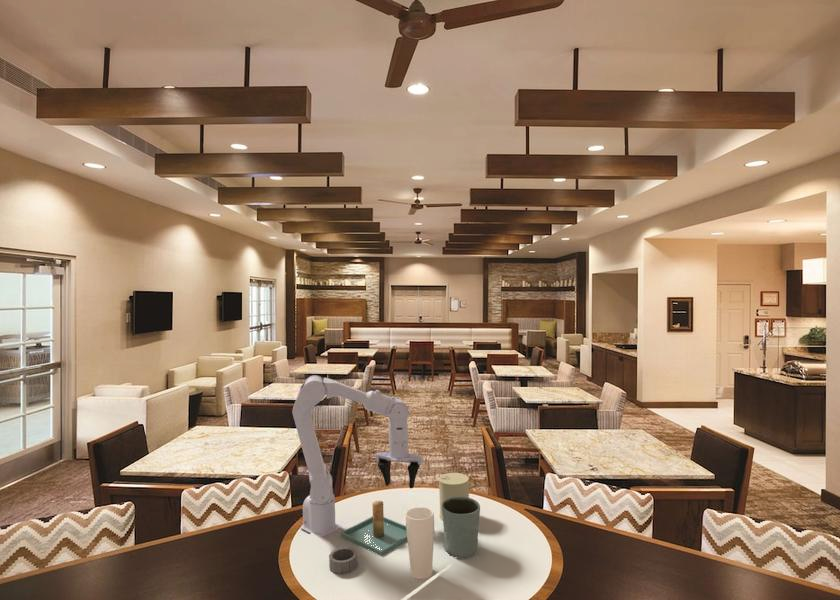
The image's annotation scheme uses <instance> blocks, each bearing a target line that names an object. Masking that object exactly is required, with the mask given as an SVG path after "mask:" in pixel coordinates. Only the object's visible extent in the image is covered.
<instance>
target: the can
mask: <svg viewBox="0 0 840 600" xmlns="http://www.w3.org/2000/svg"><path fill="white" fill-rule="evenodd" d="M469 481H470V477H469V476H468V475H466V474H465V473H459V472H446V473H443V474H441V475H439V477H438V489H439V492H438V493H439V515H438V516H439V518H440V520H441V521H443V516H442V503H443V502H444V501H445V500H447V499H449V498H452V497H467V498H470V485H469V484H470V482H469Z"/></svg>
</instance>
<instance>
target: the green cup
mask: <svg viewBox="0 0 840 600" xmlns="http://www.w3.org/2000/svg"><path fill="white" fill-rule="evenodd" d="M480 515H481V505H480V503H479V502H478V501H477V500H476V499H473V498H471V497H469V498H467V497H452V498H449V499H447V500H445V501H444V502H443V503H442V516H443V520H442V525H443V526H442V527H443V535H444V536H443V537H444V538H443V539H444V541H443V542H444V551H445V553H446V552H447V553H448V554H449V555H448V554H447V553H446V554H447V555H448V556H449V557H451V556H453V557H452V558H454V557H457V558H456V559H468V557H469V558H472V557H474V556H475V555H476V554H477V553H478V548H479V547H478V546H479V545H478V544H479V538H478V537H479V526H480V518H481V517H480Z"/></svg>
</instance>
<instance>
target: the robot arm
mask: <svg viewBox="0 0 840 600" xmlns="http://www.w3.org/2000/svg"><path fill="white" fill-rule="evenodd" d="M325 397H326V399H328V400H329V399H331V398H334V397H340V398H343V399H346V400H350V401H353V402H355V403H360V404H362V406H363V408H364V409H365V410H366V411H370V412H373V413H375V414H378V415H381V416H385V417H386V416H388V446H389V447H388V451H384V452H383V451H378V452H376V453H375V454H374V455H375V461H377V468H379V471H380V472H381V474H382V477H383V480H384V483H385V486H386V487H387V486H390V484H391V481H392V479H391V465H392V463H410V464H408V465H407V471H408V477H409V483H408V484H409V486H408V487H409V489H413V488H414V487H415V482H416V477H417V473H418V471H419V469H420V467H421V465H422V464H423V463H424V456H423V455H418V454H414V453H410V452H409V424H408V417H409V415H410V411H409V407H408V406H407V404H406V402H404V400H403V399H400V397H395V396H393V395H391V396H389V395H386V394H384V393H381V391H380V390H378V389H375V390H369V391H367V392H365V391H362V390H360V389H357V388H355V387H352V386H350V385H347V384H345V383H342V382H340V381H336V380H334V379H332V378H328V377H322V376H320V375H314V374H313V375H310V376H309V377H307V378H306V379H305V381H303V383H302V384H301V385H300V388H299V391H298V393H297V397H296V398H295V401H294V404H293V407H292V410H291V411H292V416H293V417H292V418H293V420H294V424H295V427H296V431H297V435H298V438H299V441H300V445H301V449H302V452H303V456H304V459H305V463H306V467H307V471H308V477H309V484H310V491H309V495H307V496H306V498H305V499H304V501H303V504H302V526H301V527H300V530H303V531H304V532H306V533H309V534H313V535H314V536H316V537H319V538H322V537H325V536H327V535H328V534H330V533H332V532H334V531H336V530H338V529H340V528H343V527H342V525H340V524H338V523H337V522H336V504H335V503H336V497H335V494H334V489H333V476H332V475H331V473H330V472H329V471H328V470H327V466H326V464H325V462H324V458H323V455H322V451H321V448H320V444H319V441H318V438H317V434H316V430H315V426H314V422H313V420H312V416H311V412H312V411H313V409H314V408H315V406H317V404H319V403H320V402H321V401H323V399H324V398H325Z"/></svg>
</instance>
